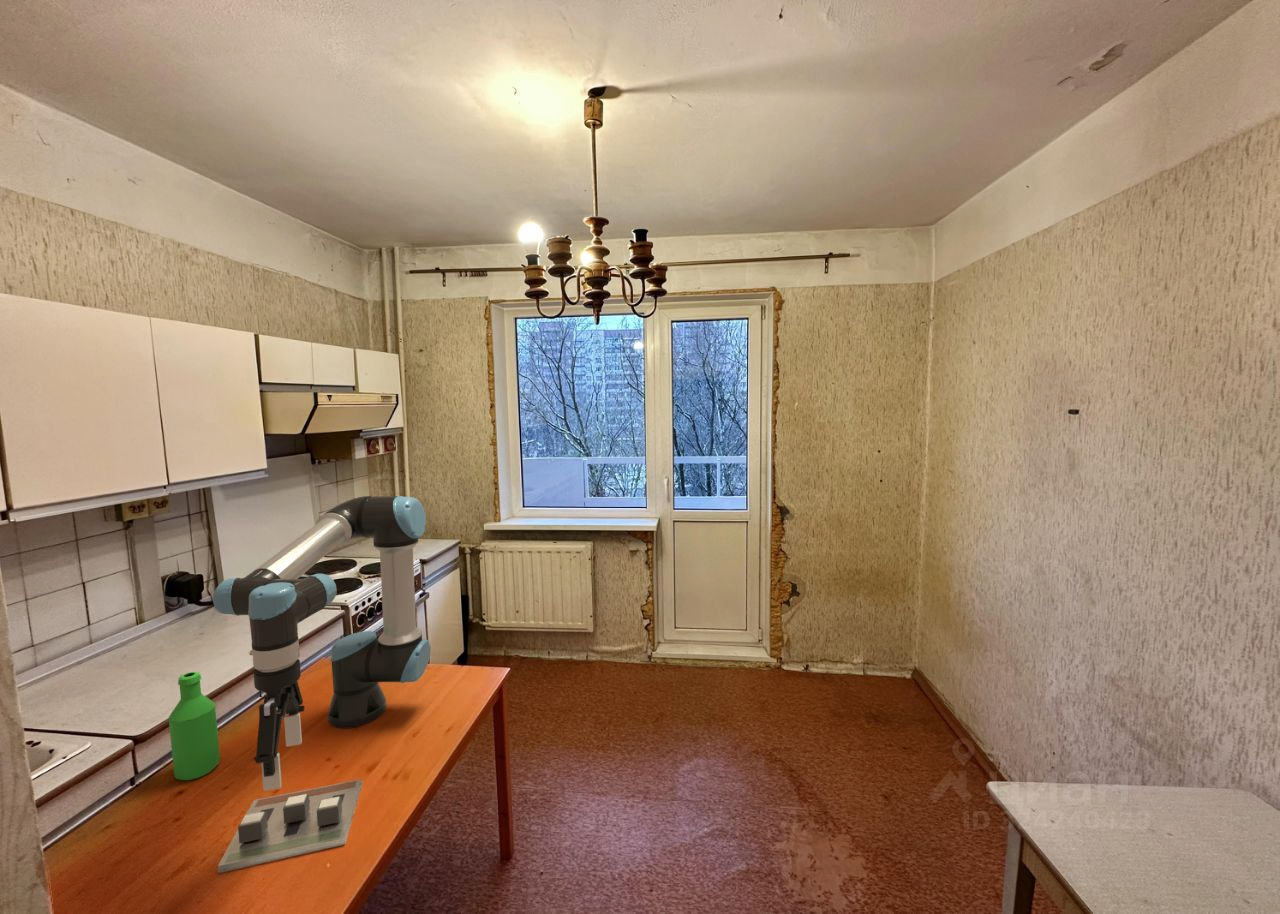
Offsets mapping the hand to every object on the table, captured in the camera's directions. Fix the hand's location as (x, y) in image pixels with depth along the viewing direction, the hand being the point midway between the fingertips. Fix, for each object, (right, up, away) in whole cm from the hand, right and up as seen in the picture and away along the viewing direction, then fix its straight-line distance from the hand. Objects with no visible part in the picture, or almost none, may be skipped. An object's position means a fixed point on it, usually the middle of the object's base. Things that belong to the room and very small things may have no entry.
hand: (283, 765), depth 105 cm
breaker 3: (+5, -16, +8) cm, 19 cm away
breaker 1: (-9, -17, +4) cm, 19 cm away
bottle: (-39, -17, +26) cm, 49 cm away
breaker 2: (-3, -16, +9) cm, 19 cm away
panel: (-3, -18, +9) cm, 20 cm away
